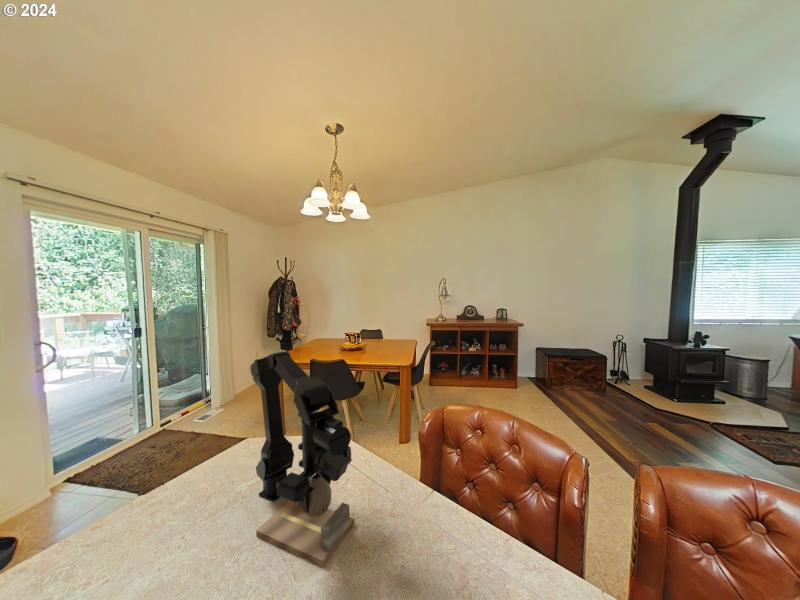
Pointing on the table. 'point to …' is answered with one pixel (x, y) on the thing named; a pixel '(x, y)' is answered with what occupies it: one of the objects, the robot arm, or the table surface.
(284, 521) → the wooden board with block
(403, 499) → the table surface
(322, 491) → the vase
